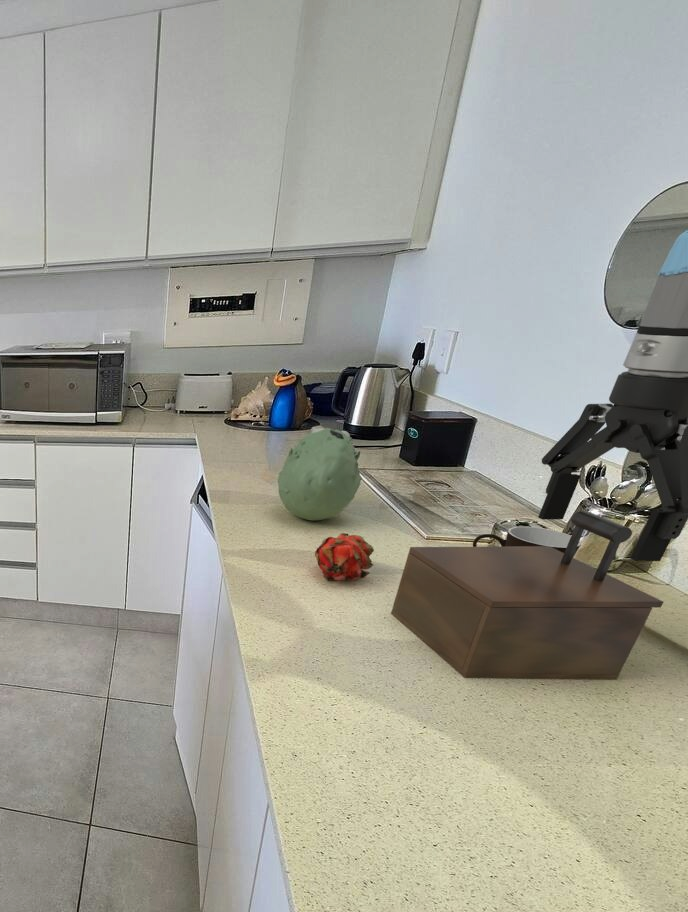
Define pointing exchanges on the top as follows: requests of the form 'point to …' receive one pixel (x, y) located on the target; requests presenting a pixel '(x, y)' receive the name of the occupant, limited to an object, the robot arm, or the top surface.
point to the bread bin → (514, 631)
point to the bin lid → (540, 571)
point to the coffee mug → (532, 538)
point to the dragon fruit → (344, 557)
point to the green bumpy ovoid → (320, 474)
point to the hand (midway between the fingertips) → (593, 537)
